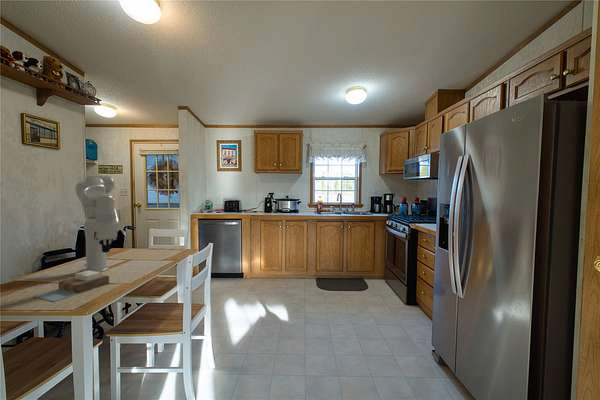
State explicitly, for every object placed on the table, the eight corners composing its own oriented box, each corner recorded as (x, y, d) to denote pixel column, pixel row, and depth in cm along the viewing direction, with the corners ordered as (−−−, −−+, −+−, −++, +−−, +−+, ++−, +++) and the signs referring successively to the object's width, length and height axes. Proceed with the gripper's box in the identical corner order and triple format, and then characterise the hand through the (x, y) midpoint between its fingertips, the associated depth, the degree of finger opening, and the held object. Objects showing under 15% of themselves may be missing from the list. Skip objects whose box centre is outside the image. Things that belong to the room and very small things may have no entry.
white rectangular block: (75, 278, 125) (75, 273, 125) (88, 274, 130) (88, 270, 130) (87, 280, 122) (87, 276, 122) (100, 277, 127) (100, 272, 127)
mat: (33, 296, 112) (33, 296, 112) (58, 289, 121) (58, 288, 121) (53, 301, 107) (53, 301, 107) (78, 294, 116) (78, 293, 116)
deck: (58, 289, 120) (58, 281, 120) (91, 280, 134) (90, 272, 134) (77, 293, 116) (77, 285, 116) (109, 283, 129) (108, 276, 129)
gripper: (114, 216, 142) (115, 248, 142) (84, 219, 127) (85, 254, 128) (124, 217, 139) (124, 249, 139) (94, 219, 125) (95, 255, 125)
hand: (105, 252), depth 133 cm, fingers closed
